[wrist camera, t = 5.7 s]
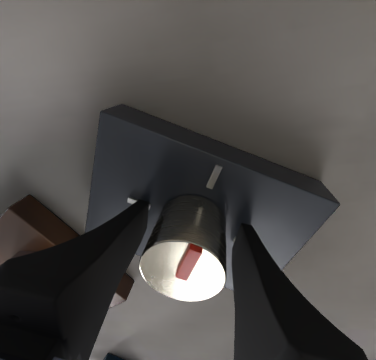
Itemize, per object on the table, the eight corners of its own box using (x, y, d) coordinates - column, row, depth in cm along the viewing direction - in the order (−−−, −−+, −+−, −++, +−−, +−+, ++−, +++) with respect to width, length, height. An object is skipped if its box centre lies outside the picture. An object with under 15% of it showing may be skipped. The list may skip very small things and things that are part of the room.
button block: (-11, 239, 21) (-59, 273, 17) (29, 193, 17) (-21, 225, 14) (83, 306, 24) (59, 347, 20) (134, 280, 20) (116, 325, 17)
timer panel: (102, 214, 17) (82, 237, 15) (121, 103, 12) (98, 110, 10) (252, 270, 17) (256, 301, 15) (321, 181, 13) (343, 206, 10)
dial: (210, 255, 14) (205, 318, 10) (152, 233, 14) (128, 289, 10) (237, 210, 12) (243, 268, 8) (170, 184, 12) (148, 232, 8)
